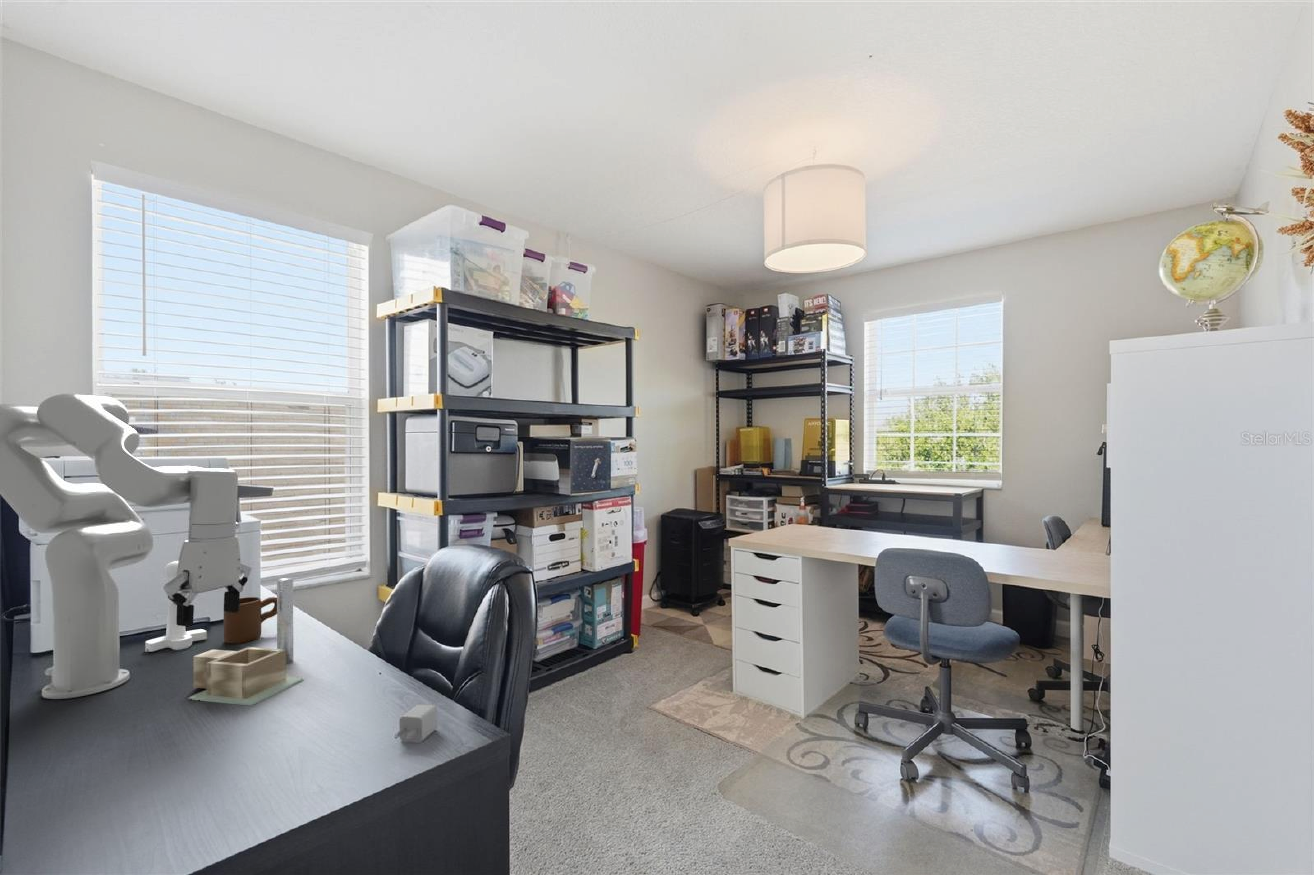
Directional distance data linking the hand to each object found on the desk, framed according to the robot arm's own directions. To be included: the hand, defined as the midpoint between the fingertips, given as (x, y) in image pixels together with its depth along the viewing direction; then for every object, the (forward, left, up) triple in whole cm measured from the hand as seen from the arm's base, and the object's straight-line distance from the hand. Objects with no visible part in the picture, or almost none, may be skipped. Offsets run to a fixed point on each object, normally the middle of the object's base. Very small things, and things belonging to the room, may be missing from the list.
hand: (208, 618), depth 119 cm
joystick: (-30, +18, -14) cm, 38 cm away
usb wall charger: (+53, -11, -14) cm, 56 cm away
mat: (+9, 0, -13) cm, 16 cm away
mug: (-18, +27, -14) cm, 35 cm away
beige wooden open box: (+6, 0, -13) cm, 14 cm away
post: (+4, +14, -13) cm, 20 cm away
